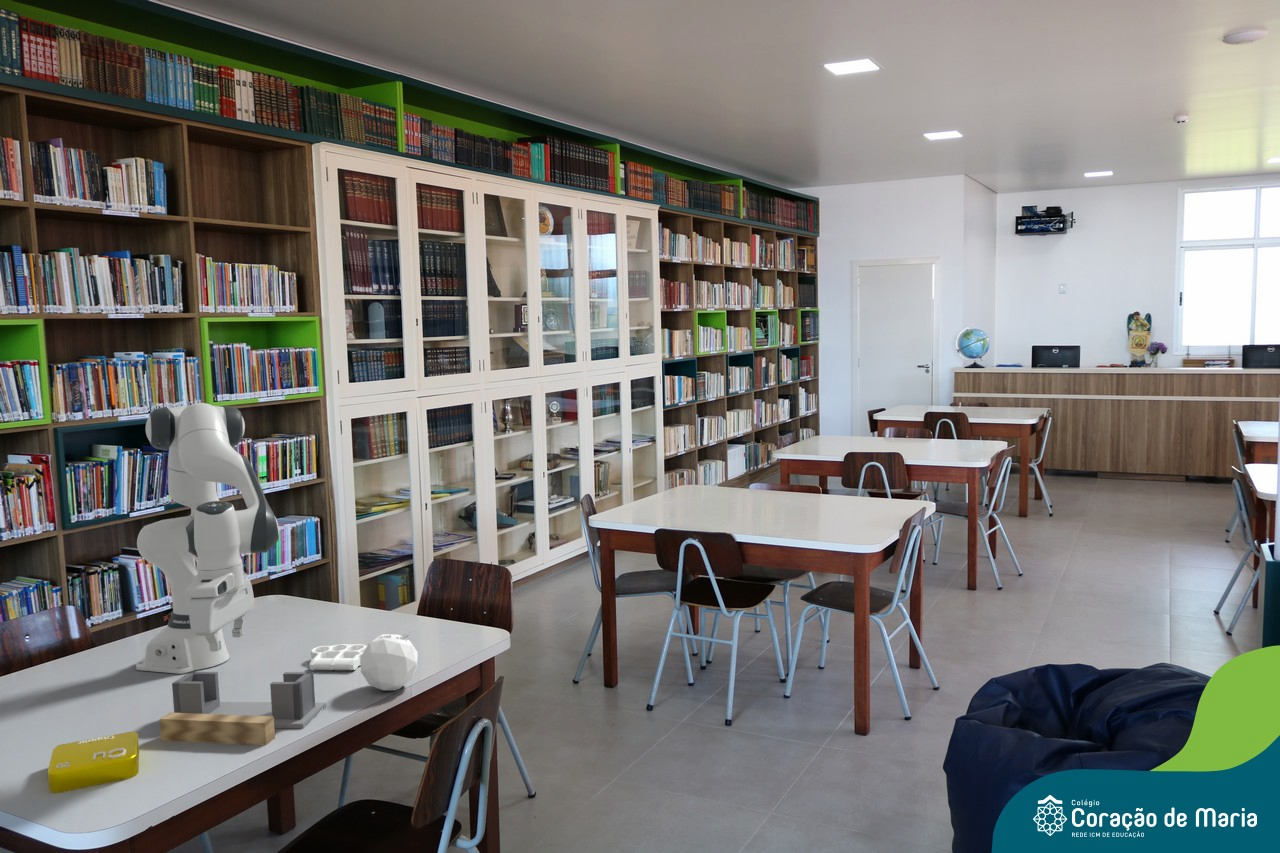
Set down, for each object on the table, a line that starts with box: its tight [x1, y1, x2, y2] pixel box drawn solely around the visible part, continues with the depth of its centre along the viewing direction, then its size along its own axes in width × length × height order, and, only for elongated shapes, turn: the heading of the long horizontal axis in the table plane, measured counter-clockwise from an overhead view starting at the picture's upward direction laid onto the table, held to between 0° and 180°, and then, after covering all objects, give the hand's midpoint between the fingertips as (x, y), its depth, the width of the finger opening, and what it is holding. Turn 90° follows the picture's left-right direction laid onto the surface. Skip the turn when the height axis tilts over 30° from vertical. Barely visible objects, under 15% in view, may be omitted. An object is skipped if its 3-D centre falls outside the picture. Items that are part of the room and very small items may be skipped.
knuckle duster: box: [309, 643, 368, 671], centre depth 249 cm, size 3×18×15 cm
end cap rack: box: [171, 671, 327, 729], centre depth 214 cm, size 32×12×9 cm, turn 85°
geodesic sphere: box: [360, 633, 419, 691], centre depth 229 cm, size 14×14×14 cm
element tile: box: [47, 731, 140, 794], centre depth 188 cm, size 15×15×5 cm
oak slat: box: [159, 712, 276, 746], centre depth 202 cm, size 24×4×5 cm, turn 81°
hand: (227, 643), depth 202 cm, fingers open, 8 cm apart
